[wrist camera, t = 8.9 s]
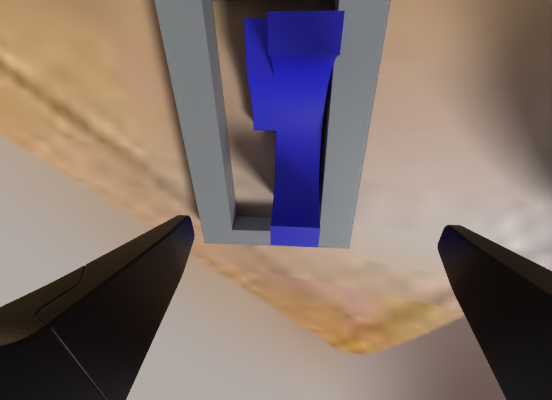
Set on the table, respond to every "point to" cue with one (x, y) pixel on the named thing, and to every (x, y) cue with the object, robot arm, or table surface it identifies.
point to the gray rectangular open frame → (213, 130)
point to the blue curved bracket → (293, 109)
